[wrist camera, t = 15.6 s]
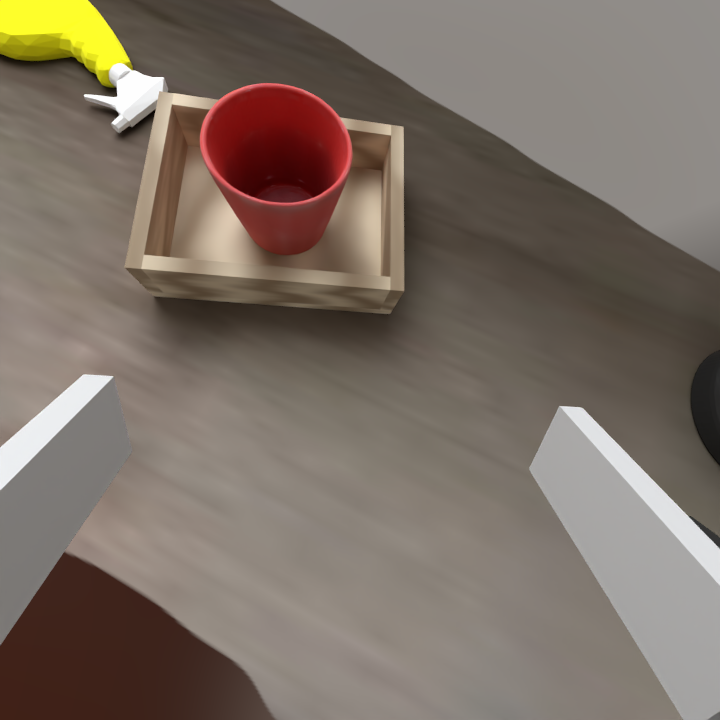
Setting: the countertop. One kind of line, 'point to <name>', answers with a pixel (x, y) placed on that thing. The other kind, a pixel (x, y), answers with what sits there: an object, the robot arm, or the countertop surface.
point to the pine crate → (239, 251)
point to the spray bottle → (79, 51)
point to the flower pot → (277, 162)
